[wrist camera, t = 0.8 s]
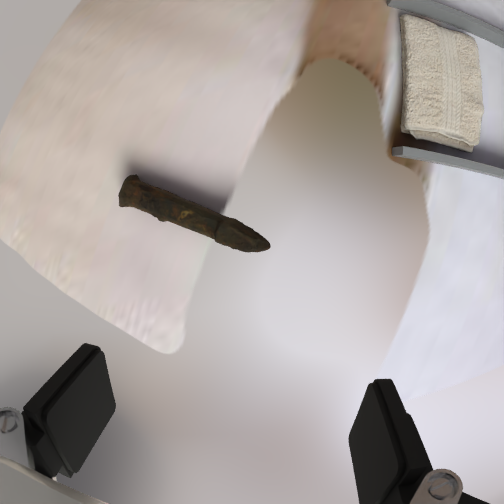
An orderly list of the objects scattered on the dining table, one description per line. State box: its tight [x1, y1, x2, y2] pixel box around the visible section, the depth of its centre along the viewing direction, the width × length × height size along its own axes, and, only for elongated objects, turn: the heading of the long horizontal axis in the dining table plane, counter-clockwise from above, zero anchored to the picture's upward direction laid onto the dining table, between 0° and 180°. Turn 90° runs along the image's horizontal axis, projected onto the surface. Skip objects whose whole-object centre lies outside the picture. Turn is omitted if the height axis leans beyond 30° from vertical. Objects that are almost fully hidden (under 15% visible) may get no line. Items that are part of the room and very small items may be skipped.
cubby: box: [387, 0, 504, 179], centre depth 28 cm, size 22×24×4 cm
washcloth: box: [399, 14, 484, 153], centre depth 29 cm, size 12×18×3 cm, turn 177°
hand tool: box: [119, 175, 270, 252], centre depth 36 cm, size 19×4×5 cm, turn 66°
